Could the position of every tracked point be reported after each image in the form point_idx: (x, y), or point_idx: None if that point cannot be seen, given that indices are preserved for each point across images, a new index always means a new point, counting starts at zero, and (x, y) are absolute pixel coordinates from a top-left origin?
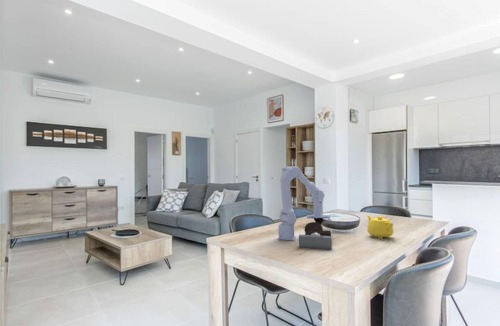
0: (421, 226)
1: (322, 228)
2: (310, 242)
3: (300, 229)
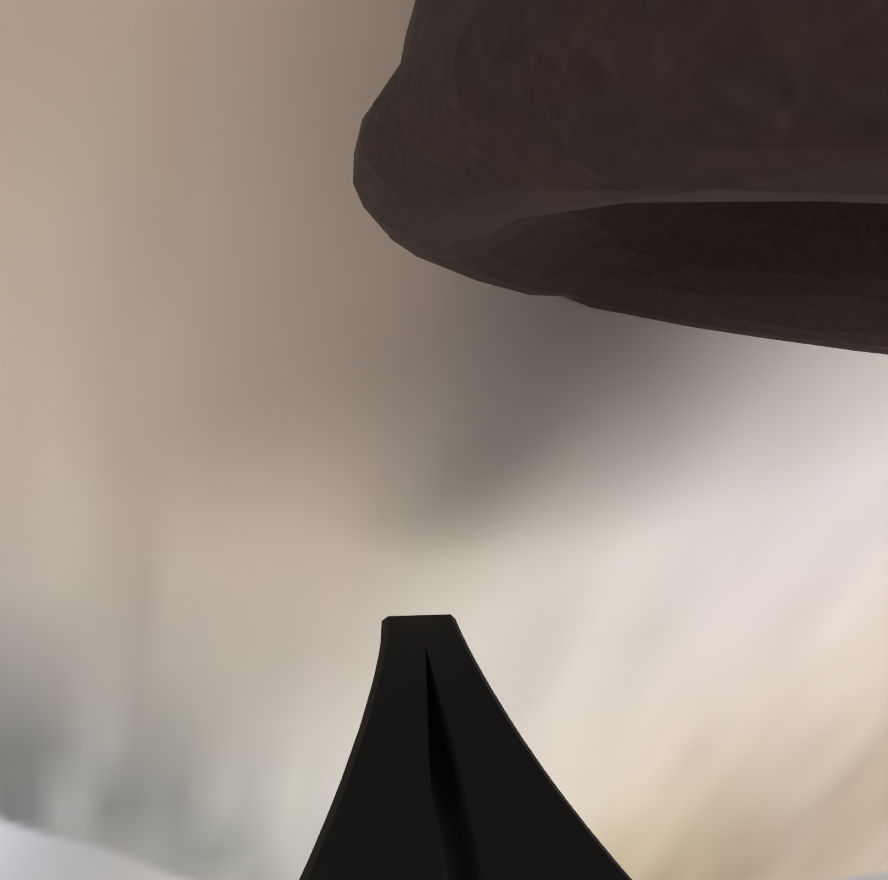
0: None
1: (382, 92)
2: None
3: (641, 840)
